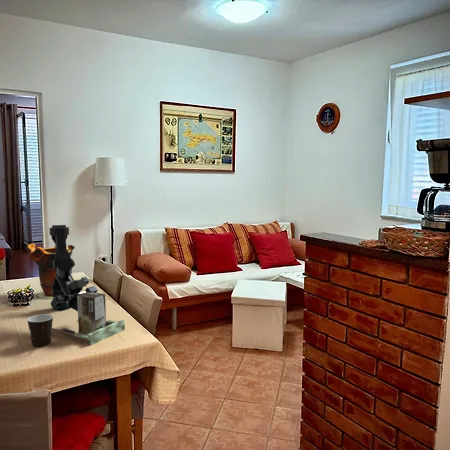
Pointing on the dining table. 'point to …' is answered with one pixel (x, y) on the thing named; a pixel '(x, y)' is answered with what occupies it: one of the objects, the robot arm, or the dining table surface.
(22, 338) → the dining table surface
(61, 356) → the dining table surface
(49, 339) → the coffee mug
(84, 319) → the coffee box
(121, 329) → the rectangular frame
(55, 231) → the robot arm
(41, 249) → the decorative vase
